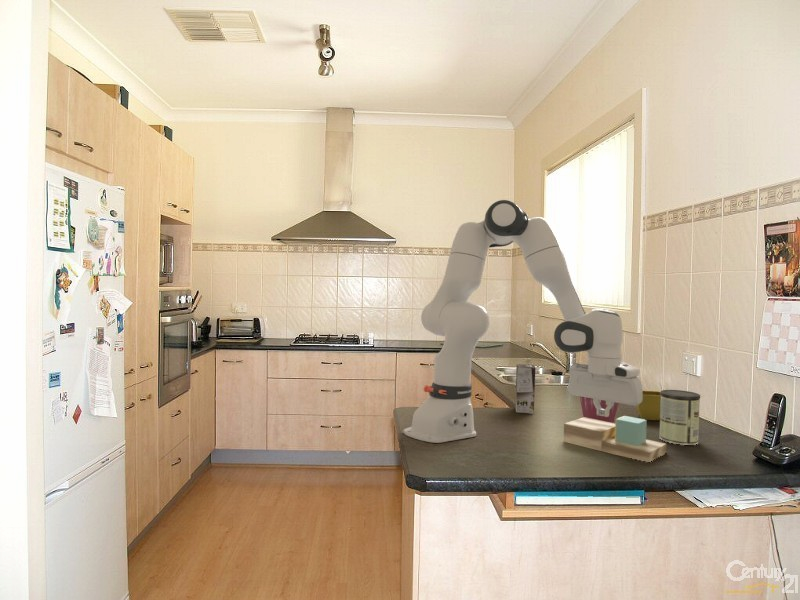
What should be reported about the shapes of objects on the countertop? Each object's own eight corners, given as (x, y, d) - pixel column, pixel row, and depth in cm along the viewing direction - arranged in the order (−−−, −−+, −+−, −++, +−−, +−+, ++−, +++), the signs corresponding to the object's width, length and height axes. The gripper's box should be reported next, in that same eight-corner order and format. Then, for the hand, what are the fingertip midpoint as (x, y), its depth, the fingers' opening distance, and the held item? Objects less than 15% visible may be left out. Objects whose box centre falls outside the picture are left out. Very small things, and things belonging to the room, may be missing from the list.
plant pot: (618, 430, 161) (620, 389, 161) (572, 423, 168) (573, 384, 168) (623, 420, 174) (625, 383, 174) (580, 414, 181) (581, 378, 181)
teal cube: (614, 441, 140) (637, 446, 136) (615, 419, 140) (638, 423, 136) (623, 436, 145) (645, 441, 141) (624, 415, 145) (646, 419, 140)
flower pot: (637, 420, 175) (638, 394, 175) (632, 414, 183) (633, 389, 183) (665, 423, 173) (666, 396, 172) (659, 416, 181) (660, 391, 181)
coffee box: (534, 414, 180) (535, 367, 180) (515, 412, 182) (516, 366, 181) (533, 408, 189) (534, 364, 189) (515, 407, 191) (516, 363, 190)
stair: (649, 463, 131) (650, 442, 131) (563, 441, 148) (564, 423, 148) (666, 453, 139) (666, 434, 139) (583, 434, 156) (583, 417, 156)
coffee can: (660, 433, 159) (661, 388, 159) (698, 439, 154) (700, 392, 153) (657, 441, 150) (659, 393, 150) (698, 448, 145) (700, 398, 144)
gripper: (564, 363, 151) (563, 410, 151) (636, 372, 136) (635, 424, 137) (574, 361, 155) (573, 407, 155) (645, 370, 141) (644, 420, 141)
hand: (602, 415), depth 146 cm, fingers closed
